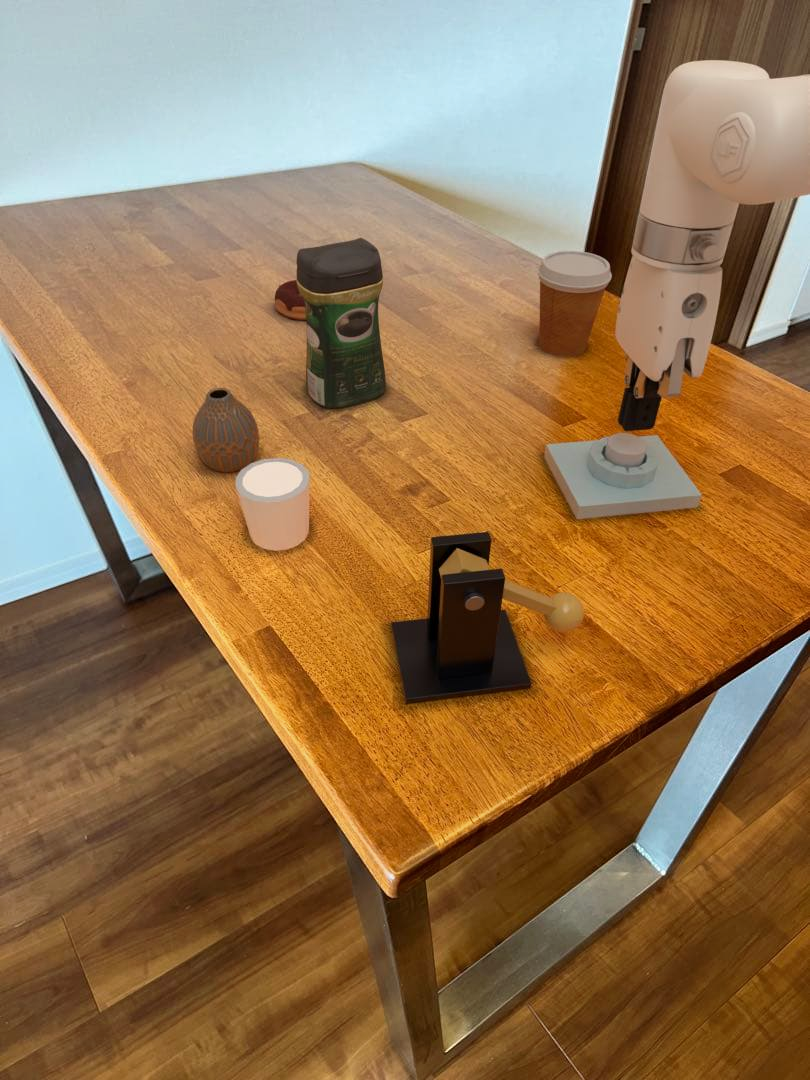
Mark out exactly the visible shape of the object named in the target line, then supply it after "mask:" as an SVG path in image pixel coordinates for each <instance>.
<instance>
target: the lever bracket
mask: <svg viewBox="0 0 810 1080" xmlns="http://www.w3.org/2000/svg"><path fill="white" fill-rule="evenodd" d="M492 542H493V541H492V538H491V535H490V532H489V531H481V532H471V533H460V534H452V535H450V534H449V535H440V536H431V537H430V547H429V548H430V550H429V551H430V552H429V570H428V571H429V572H428V573H429V574H428V594H427V595H428V596H427V616H426V617H427V618H418V619H408V620H400V621H399V620H398V621H391V622H390V630H391V635H392V640H393V645H394V651H395V656H396V661H397V666H398V672H399V676H400V680H401V687H402V692H403V698H404V702H405V705H412V704H420V703H427V702H428V703H429V702H436V701H443V700H452V699H460V698H466V697H475V696H483V695H491V694H498V693H500V694H501V693H506V692H507V693H508V692H514V691H523V690H530V689H531V688H532V681H531V679H530V676H529V673H528V670H527V666H526V664H525V662H524V658H523V656H522V652H521V650H520V647H519V644H518V641H517V639H516V635H515V633H514V631H513V627H512V624H511V621H510V619H509V616H508V613H507V611H506V609H502V603H503V599H502V598H503V591H504V584H505V580H506V576H505V572H504V570H503V569H502V568H492V569H490V570H482V571H473V572H463V573H454V574H444V575H442V576H440V573H439V568H440V567H441V566H442V565H443V564H444V562H445V561H446V560H447V559H448V558H449V557H450V556H451V554H452V553H453V552H454V551H455V550H456V549H457V548H458V549H461V550H463V551H466V552H468V553H471V554H473V555H476V556H478V557H481V558H483V559H486V561H487V563H488V566H489V567H490V558H491V557H490V556H491V548H492Z"/></svg>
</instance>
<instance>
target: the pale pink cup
mask: <svg viewBox="0 0 810 1080" xmlns="http://www.w3.org/2000/svg"><path fill="white" fill-rule="evenodd" d="M310 479H311V478H310V471H309V470H308V469H307V468H306V467H305V465H304V464H302V463H300V462H298V461H296V460H293V459H290V458H283V457H270V458H263V459H260V460H256V461H252V462H251V463H250V464H249V465H248V466H246V467H245V468H243V469H242V470H239V472H238V474H237V475H236V476H235V491H236V493H237V496H238V501H239V503H240V507H241V511H242V513H243V516H244V520H245V523H246V526H247V530H248V533H249V536H250V539H251V540H252V541H253V543H254V545H256V546H257V547H260V548H262V549H263V550H267V551H274V552H277V551H286V550H289V549H292V548H295V547H297V546H299V545H300V544H301V543H302V542H304V541H305V540H306V538H307V537H308V535H309V532H310V495H311V494H310V493H311V492H310V491H311V489H310V488H311V487H310V486H311V480H310Z"/></svg>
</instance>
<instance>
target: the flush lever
mask: <svg viewBox="0 0 810 1080" xmlns="http://www.w3.org/2000/svg"><path fill="white" fill-rule="evenodd" d="M482 570H491V569H490V565H489V566H488V563H487V561H486V559H483V558H481V557H478V556H476V555H473V554H471V553H468V552H466V551H463V550H461V549H458V548H457V549H456V550H455V551H454V552H453V553H452V554H451V556H450V557H449V558H448V559H447V560H446V561H445V562H444V564H443V565H442V566H441V567H440V568H439V573H440V576H442V575H444V574H454V573H463V572H473V571H482ZM502 600H504V601H507V602H510V603H512V604H516V605H517V606H521V607H522V608H523V607H524V608H527V609H529V610H532V611H534V612H536V613H539V614H542V615H543V617H544V618H543V619H544V621H545V624H546V625H547V626H548V627H550V629H552V630H553V631H555V632H557V633H563V634H565V633H566V634H567V633H571V632H573V631H575V630H576V629H578V628H579V627H580V626H581V625H582V623H583V621H584V619H585V618H584V617H585V607H584V605H583V603H582V601H581V600H580V598H578V596H576V595H575V594H573V593H569V592H564V591H563V592H557V593H555V594H552V595H551V596H547V595H544V594H542V593H539V592H538V591H534V590H532V589H529V588H527V587H524V586H521V585H519V584H516V583H515V582H511V581H509V580H506V579H505V584H504V591H503V598H502Z"/></svg>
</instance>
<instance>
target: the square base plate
mask: <svg viewBox="0 0 810 1080" xmlns="http://www.w3.org/2000/svg"><path fill="white" fill-rule="evenodd" d="M609 437H610V436H603V437H601V438H600V439H595V440H582V441H580V440H579V441H570V442H558V443H546V444H545V449H544V456H543V458H544V460H545V462H546V464H547V466H548V468H549V470H550V472H551V474H552V476H553V478H554V479H555V482H556V483H557V486H558V487H559V489H560V491H561V492H562V494H563V496H564V498H565V500H566V502H567V503H568V506H569V508H570V509H571V512H572V513H573V516H574V517H575V519H576V520H582V519H592V518H601V517H613V516H622V515H623V516H624V515H633V514H635V515H636V514H645V513H655V512H664V511H666V512H667V511H673V510H684V509H694V508H698V507H699V505H700V501H701V499H702V497H703V494H702V493H701V492H700V490H699V489H698V487H697V486H696V484H695V483H694V482H693V480H692V479H691V478H690V477H689V476H688V474H687V473H686V471H685V470H684V469H683V467H682V466H681V465H680V464H679V462H678V461H677V459H676V458H675V456H674V455H673V454H672V452H671V451H670V450H669V448H668V447H667V446H666V444H665V443H664V442H663V440H662V439H661V438H660V437H659V435H658V434H654V435H642V436H641V435H640V436H639V437H640V438H642V439H643V440H644V441H645V442H646V444H647V450H646V453H645V457H644V460H643V463H642V464H641V465H640V466H638V467H630V468H626V467H621V466H616V465H614V464H612V463H610V462H609V461H607V460H606V458H605V456H604V453H605V449H606V444H607V440H608V438H609Z"/></svg>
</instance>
